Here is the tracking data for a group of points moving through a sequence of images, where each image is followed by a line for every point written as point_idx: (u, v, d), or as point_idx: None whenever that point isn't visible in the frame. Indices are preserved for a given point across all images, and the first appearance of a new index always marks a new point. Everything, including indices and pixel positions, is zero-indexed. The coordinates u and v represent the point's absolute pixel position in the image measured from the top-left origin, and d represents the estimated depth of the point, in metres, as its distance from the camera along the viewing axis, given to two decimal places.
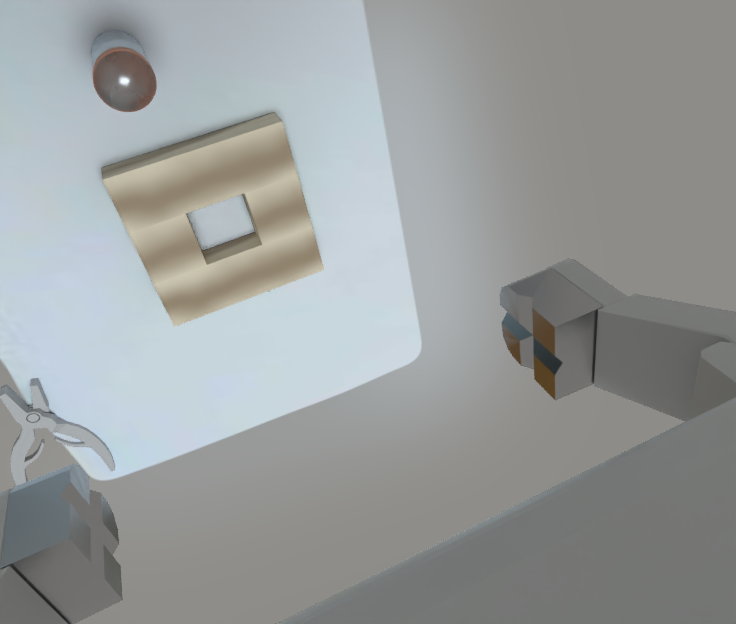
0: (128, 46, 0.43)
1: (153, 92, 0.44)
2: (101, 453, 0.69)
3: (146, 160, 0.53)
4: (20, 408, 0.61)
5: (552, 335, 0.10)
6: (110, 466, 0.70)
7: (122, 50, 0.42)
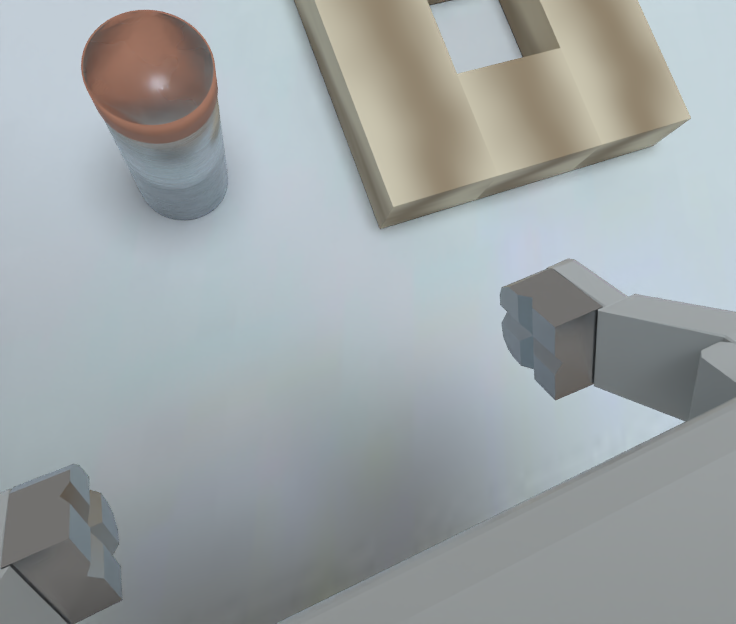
0: None
1: (172, 18, 0.20)
2: None
3: (358, 140, 0.28)
4: None
5: (552, 335, 0.10)
6: None
7: (83, 64, 0.19)
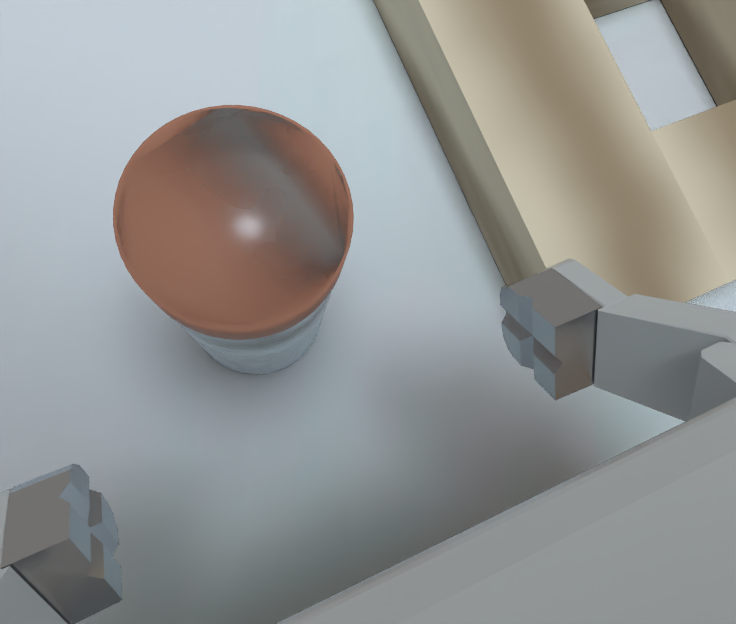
0: None
1: (268, 116, 0.11)
2: None
3: (511, 239, 0.19)
4: None
5: (552, 335, 0.10)
6: None
7: (116, 220, 0.10)
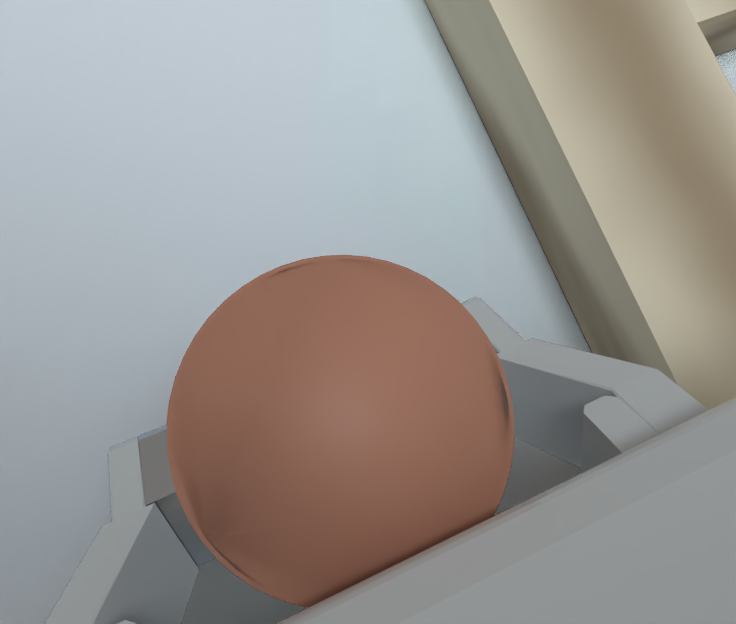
0: None
1: (387, 270, 0.08)
2: None
3: (625, 342, 0.16)
4: None
5: None
6: None
7: (171, 438, 0.07)
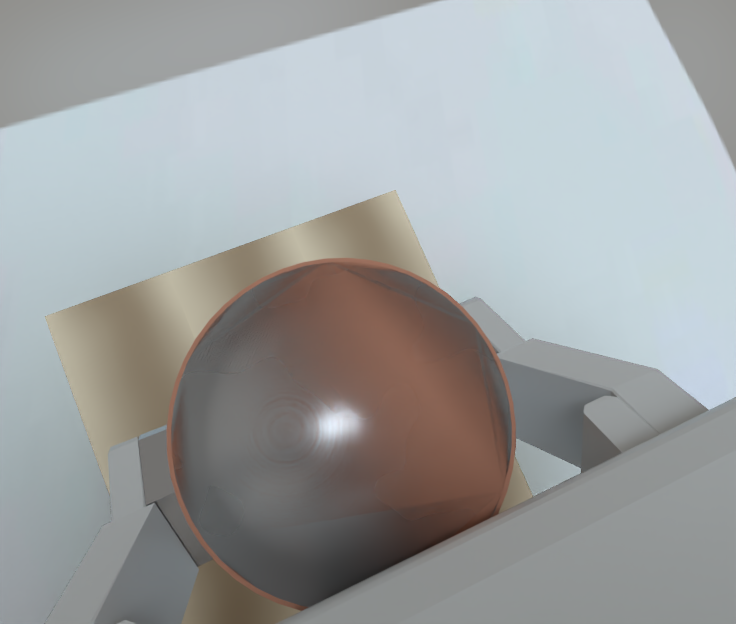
0: None
1: (388, 273, 0.08)
2: None
3: None
4: None
5: None
6: None
7: (171, 442, 0.07)
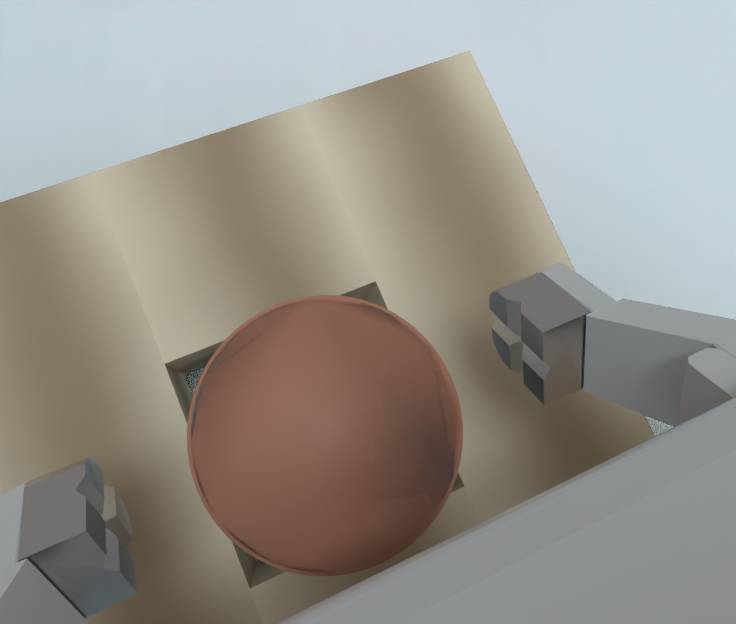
0: None
1: (362, 307, 0.10)
2: None
3: None
4: None
5: (540, 340, 0.10)
6: None
7: (190, 441, 0.09)
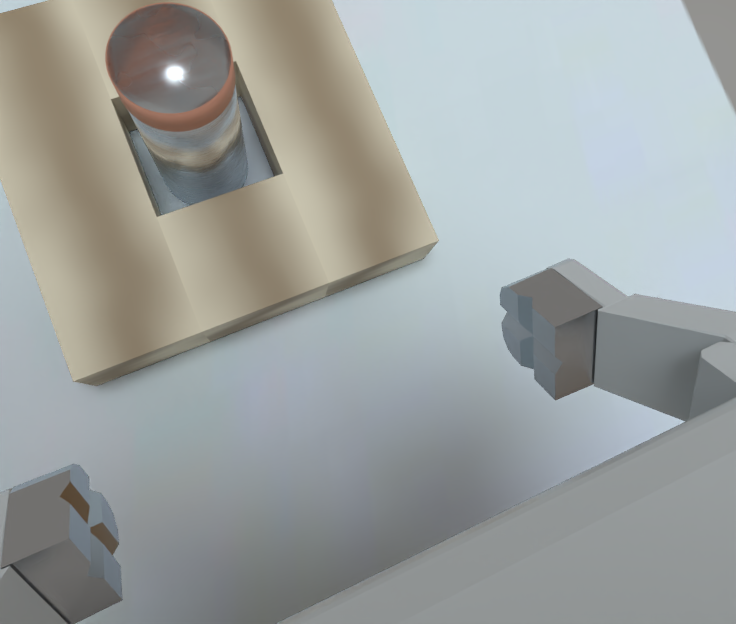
0: None
1: (188, 8, 0.21)
2: None
3: None
4: None
5: (552, 335, 0.10)
6: None
7: (107, 59, 0.20)
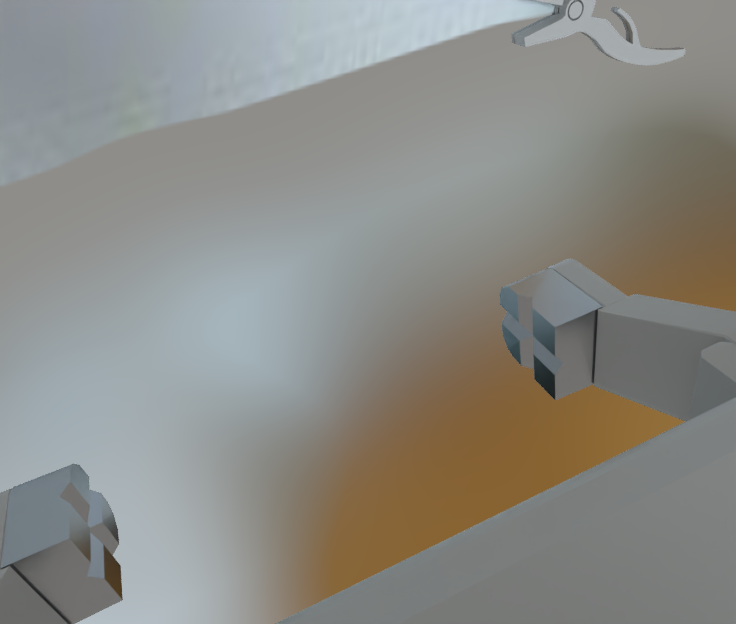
0: None
1: None
2: None
3: None
4: (554, 23, 0.40)
5: (552, 335, 0.10)
6: None
7: None
